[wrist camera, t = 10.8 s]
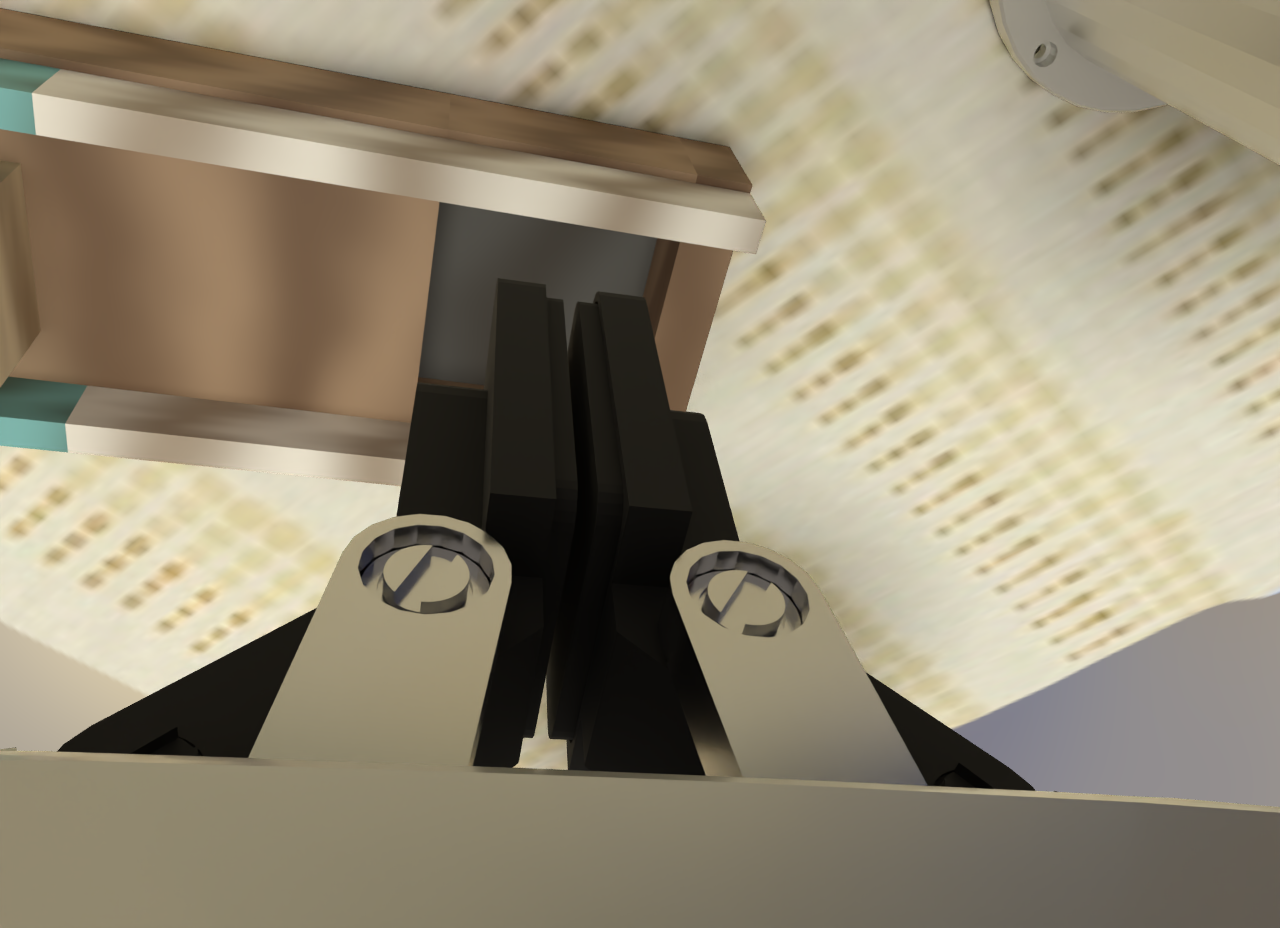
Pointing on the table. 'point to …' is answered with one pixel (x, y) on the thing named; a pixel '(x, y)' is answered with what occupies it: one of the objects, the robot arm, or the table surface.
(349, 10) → the table surface
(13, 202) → the maple block
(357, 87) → the trap deck
